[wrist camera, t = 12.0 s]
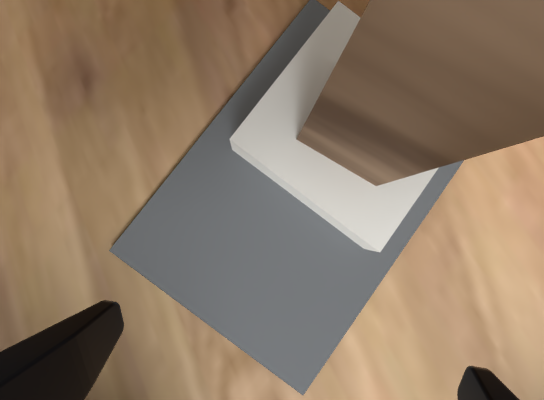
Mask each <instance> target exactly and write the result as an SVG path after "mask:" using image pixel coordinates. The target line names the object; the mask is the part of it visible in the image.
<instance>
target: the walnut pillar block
mask: <svg viewBox="0 0 544 400" xmlns="http://www.w3.org/2000/svg"><path fill="white" fill-rule="evenodd" d="M543 136H544V0H370V1H369V3H368V5H367V7H366V9H365V11H364V13H363V14H362V16H361V18H360V20H359V22H358V24H357V26H356V28H355V29H354V31H353V33H352V35H351V37H350V39H349V41H348V43H347V45H346V46H345V48H344V50H343V52H342V54H341V56H340V58H339V60H338V61H337V63H336V65H335V67H334V69H333V71H332V73H331V75H330V76H329V78H328V80H327V82H326V84H325V86H324V88H323V90H322V92H321V93H320V95H319V97H318V99H317V101H316V103H315V105H314V107H313V108H312V110H311V112H310V114H309V116H308V118H307V120H306V122H305V124H304V125H303V127H302V129H301V131H300V133H299V135H298V137H297V139H296V140H298V141H300V142H302V143H303V144H305V145H307V146H308V147H310V148H312V149H313V150H315V151H317V152H319V153H320V154H322V155H324V156H325V157H327V158H329V159H330V160H332V161H334V162H336V163H337V164H339V165H341V166H342V167H344V168H346V169H347V170H349V171H351V172H353V173H354V174H356V175H358V176H359V177H361V178H363V179H364V180H366V181H368V182H370V183H371V184H373V185H375V186H379V185H382V184H385V183H389V182H392V181H395V180H399V179H402V178H405V177H409V176H412V175H415V174H419V173H422V172H425V171H429V170H432V169H436V168H439V167H442V166H446V165H449V164H452V163H456V162H459V161H462V160H466V159H469V158H472V157H476V156H479V155H482V154H486V153H489V152H492V151H496V150H499V149H502V148H506V147H509V146H513V145H516V144H519V143H523V142H526V141H529V140H533V139H536V138H539V137H543Z"/></svg>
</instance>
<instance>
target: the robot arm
mask: <svg viewBox="0 0 544 400" xmlns="http://www.w3.org/2000/svg"><path fill="white" fill-rule="evenodd" d="M123 328H124V322H123V318H122V313H121V309H120V305H119V304H118V303H117V302H113V301H107V300H104V301H101V302H99V303H97V304H95V305H93V306H91V307H89V308H87V309H85V310H83V311H81V312H79V313H77V314H75V315H73V316H71V317H69V318H67V319H65V320H63V321H61V322H59V323H57V324H55V325H53V326H51V327H49V328H47V329H45V330H43V331H41V332H39V333H37V334H35V335H33V336H31V337H29V338H27V339H25V340H23V341H21V342H19V343H17V344H15V345H13V346H11V347H9V348H7V349H5V350H3V351H1V352H0V400H84V399H85V397H86V396H87V394H88V393H89V391H90V390H91V388H92V386H93V385H94V383H95V381H96V379H97V378H98V376H99V374H100V372H101V370H102V369H103V367H104V365H105V363H106V361H107V359H108V358H109V356H110V354H111V352H112V350H113V348H114V346H115V345H116V343H117V341H118V339H119V337H120V335H121V334H122V331H123ZM457 395H458V400H519V399H518V398H517V397H516V396H515V395H514V394H513V393H512V392H511V391H510V390H509V389H508V388H507V387H506V386H505V385H504V384H503V383H502V382H501V381H500V380H499V379H498V378H497V377H496V376H495V375H494V374H493V373H492V372H491V371H490V370H488V369H486V368H481V367H475V366H468V367H467V368H466V370H465V372H464V375H463V377H462V380H461V382H460V385H459V387H458V394H457Z"/></svg>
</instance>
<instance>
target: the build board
mask: <svg viewBox="0 0 544 400" xmlns="http://www.w3.org/2000/svg"><path fill="white" fill-rule="evenodd" d="M359 20H360V17H359V16H358V15H356V14H355V13H354V12H352V11H351V10H350V9H349V8H347V7H346V6H345V5H343V4H342V3H341V2H339V1H338V2H337V3H336V4H335V6H334V7H333V8H332V10H331V11H330V10H328V9H327V8H326V7H324V6H323V5H322V4H320V3H319V2H318V1H316V0H309V2H308V3H307V4H306V5H305V7H304V8H303V9H302V10H301V12H300V13H299V14H298V15H297V17H296V18H295V19H294V20H293V22H292V23H291V24H290V25H289V27H288V28H287V29H286V30H285V32H284V33H283V34H282V35H281V37H280V38H279V39H278V40H277V42H276V43H275V44H274V45H273V47H272V48H271V49H270V50H269V52H268V53H267V54H266V55H265V57H264V58H263V59H262V60H261V62H260V63H259V64H258V65H257V67H256V68H255V69H254V70H253V72H252V73H251V74H250V75H249V77H248V78H247V79H246V80H245V82H244V83H243V84H242V85H241V87H240V88H239V89H238V90H237V92H236V93H235V94H234V95H233V97H232V98H231V99H230V100H229V102H228V103H227V104H226V105H225V107H224V108H223V109H222V110H221V112H220V113H219V114H218V115H217V116H216V118H215V119H214V120H213V121H212V123H211V124H210V125H209V126H208V128H207V129H206V130H205V131H204V133H203V134H202V135H201V136H200V138H199V139H198V140H197V141H196V143H195V144H194V145H193V146H192V148H191V149H190V150H189V151H188V153H187V154H186V155H185V156H184V158H183V159H182V160H181V161H180V163H179V164H178V165H177V166H176V168H175V169H174V170H173V171H172V173H171V174H170V175H169V176H168V178H167V179H166V180H165V181H164V183H163V184H162V185H161V186H160V188H159V189H158V190H157V191H156V193H155V194H154V195H153V196H152V198H151V199H150V200H149V201H148V203H147V204H146V205H145V206H144V208H143V209H142V210H141V211H140V213H139V214H138V215H137V216H136V218H135V219H134V220H133V221H132V223H131V224H130V225H129V226H128V228H127V229H126V230H125V231H124V233H123V234H122V235H121V236H120V238H119V239H118V240H117V241H116V243H115V244H114V245H113V246H112V248H111V249H110V250H109V251H110V252H112V253H113V254H114V255H116V256H117V257H118V258H120V259H121V260H122V261H124V262H125V263H126V264H128V265H129V266H130V267H132V268H133V269H134V270H136V271H137V272H138V273H140V274H141V275H142V276H144V277H145V278H146V279H148V280H149V281H150V282H152V283H153V284H154V285H156V286H157V287H158V288H160V289H161V290H162V291H164V292H165V293H166V294H168V295H169V296H171V297H172V298H173V299H175V300H176V301H177V302H179V303H180V304H181V305H183V306H184V307H185V308H187V309H188V310H189V311H191V312H192V313H193V314H195V315H196V316H197V317H199V318H200V319H201V320H203V321H204V322H205V323H207V324H208V325H209V326H211V327H212V328H213V329H215V330H216V331H217V332H219V333H220V334H221V335H223V336H224V337H225V338H227V339H228V340H229V341H231V342H232V343H233V344H235V345H236V346H237V347H239V348H240V349H241V350H243V351H244V352H245V353H247V354H248V355H249V356H251V357H252V358H254V359H255V360H256V361H258V362H259V363H260V364H262V365H263V366H264V367H266V368H267V369H268V370H270V371H271V372H272V373H274V374H275V375H276V376H278V377H279V378H280V379H282V380H283V381H284V382H286V383H287V384H288V385H290V386H291V387H292V388H294V389H295V390H296V391H298V392H299V393H300V394H302V395H304V393H305V392H306V391H307V389H308V388H309V386H310V385H311V383H312V382H313V380H314V379H315V377H316V376H317V374H318V373H319V372H320V370H321V369H322V367H323V366H324V364H325V363H326V361H327V360H328V358H329V357H330V355H331V354H332V353H333V351H334V350H335V348H336V347H337V345H338V344H339V342H340V341H341V339H342V338H343V336H344V335H345V334H346V332H347V331H348V329H349V328H350V326H351V325H352V323H353V322H354V320H355V319H356V317H357V316H358V315H359V313H360V312H361V310H362V309H363V307H364V306H365V304H366V303H367V301H368V300H369V298H370V297H371V296H372V294H373V293H374V291H375V290H376V288H377V287H378V285H379V284H380V282H381V281H382V279H383V278H384V277H385V275H386V274H387V272H388V271H389V269H390V268H391V266H392V265H393V263H394V262H395V260H396V259H397V258H398V256H399V255H400V253H401V252H402V250H403V249H404V247H405V246H406V244H407V243H408V241H409V240H410V239H411V237H412V236H413V234H414V233H415V231H416V230H417V228H418V227H419V225H420V224H421V222H422V221H423V220H424V218H425V217H426V215H427V214H428V212H429V211H430V209H431V208H432V206H433V205H434V203H435V202H436V201H437V199H438V198H439V196H440V195H441V193H442V192H443V190H444V189H445V187H446V186H447V184H448V183H449V182H450V180H451V179H452V177H453V176H454V174H455V173H456V171H457V170H458V168H459V167H460V165H461V164H462V163H463V161H464V160H462V161H459V162H456V163H452V164H449V165H446V166H442V167H439V168H436V169H432V170H429V171H425V172H422V173H419V174H415V175H412V176H409V177H405V178H402V179H399V180H395V181H392V182H389V183H385V184H382V185H379V186H375V185H373V184H371V183H370V182H368V181H366V180H364V179H363V178H361V177H359V176H358V175H356V174H354V173H353V172H351V171H349V170H347V169H346V168H344V167H342V166H341V165H339V164H337V163H336V162H334V161H332V160H330V159H329V158H327V157H325V156H324V155H322V154H320V153H319V152H317V151H315V150H313V149H312V148H310V147H308V146H307V145H305V144H303V143H302V142H300V141H298V140H296V139H297V137H298V135H299V133H300V131H301V129H302V127H303V125H304V124H305V122H306V120H307V118H308V116H309V114H310V112H311V110H312V108H313V107H314V105H315V103H316V101H317V99H318V97H319V95H320V93H321V92H322V90H323V88H324V86H325V84H326V82H327V80H328V78H329V76H330V75H331V73H332V71H333V69H334V67H335V65H336V63H337V61H338V60H339V58H340V56H341V54H342V52H343V50H344V48H345V46H346V45H347V43H348V41H349V39H350V37H351V35H352V33H353V31H354V29H355V28H356V26H357V24H358V22H359Z"/></svg>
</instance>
